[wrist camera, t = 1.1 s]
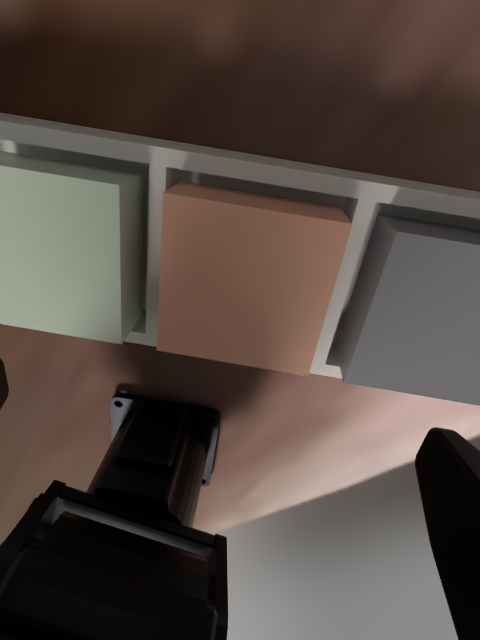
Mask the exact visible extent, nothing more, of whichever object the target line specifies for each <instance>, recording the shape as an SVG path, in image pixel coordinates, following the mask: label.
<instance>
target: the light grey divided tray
mask: <svg viewBox="0 0 480 640" xmlns="http://www.w3.org/2000/svg"><path fill="white" fill-rule="evenodd" d="M0 151H4V152H10V153H17V154H23V155H29V156H35V157H41V158H47V159H53V160H59V161H65V162H71V163H77V164H83V165H89V166H95V167H101V168H107V169H113V170H119V171H125V172H131V173H137V174H143V175H144V218H143V280H142V316H141V317H140V318H139V320H138V321H137V323H136V324H135V326H134V327H133V329H132V330H131V331H130V333H129V334H128V336H127V337H126V339H125V340H124V341H125V342H131V343H137V344H143V345H148V346H154V347H157V330H158V305H159V280H160V255H161V231H162V206H163V192H165V191H166V190H168V189H169V188H171V187H172V186H174V185H176V184H177V183H179V182H180V181H185V182H191V183H197V184H203V185H209V186H215V187H221V188H227V189H233V190H239V191H245V192H251V193H257V194H263V195H269V196H275V197H281V198H287V199H293V200H299V201H305V202H312V203H318V204H324V205H330V206H336V207H341V209H342V210H343V212H344V213H345V214H346V216H347V217H348V219H349V220H350V221H351V223H352V227H351V231H350V234H349V237H348V241H347V244H346V248H345V251H344V255H343V258H342V262H341V265H340V268H339V272H338V275H337V279H336V282H335V286H334V289H333V292H332V296H331V299H330V303H329V306H328V310H327V313H326V316H325V320H324V323H323V327H322V330H321V334H320V337H319V340H318V344H317V347H316V351H315V354H314V358H313V361H312V364H311V368H310V371H309V373H313V374H319V375H324V376H330V377H336V378H342V374H341V370H340V366H339V362H338V358H337V354H336V350H335V346H336V343H337V339H338V336H339V333H340V330H341V327H342V324H343V321H344V318H345V314H346V311H347V308H348V305H349V302H350V299H351V296H352V293H353V290H354V286H355V283H356V280H357V277H358V274H359V271H360V268H361V265H362V261H363V258H364V255H365V252H366V249H367V246H368V243H369V240H370V236H371V233H372V230H373V227H374V224H375V221H376V218H377V215H378V214H384V215H390V216H396V217H402V218H408V219H414V220H420V221H426V222H432V223H438V224H444V225H450V226H456V227H462V228H468V229H474V230H480V192H478V191H472V190H466V189H460V188H454V187H448V186H442V185H436V184H430V183H424V182H418V181H412V180H406V179H400V178H394V177H388V176H382V175H376V174H369V173H363V172H357V171H351V170H345V169H339V168H333V167H327V166H321V165H315V164H309V163H303V162H297V161H291V160H285V159H279V158H273V157H267V156H260V155H254V154H248V153H242V152H236V151H230V150H224V149H218V148H212V147H206V146H200V145H194V144H188V143H182V142H176V141H170V140H164V139H157V138H151V137H145V136H139V135H133V134H127V133H121V132H115V131H109V130H103V129H97V128H91V127H85V126H79V125H73V124H67V123H61V122H55V121H48V120H42V119H36V118H30V117H24V116H18V115H12V114H6V113H0ZM342 379H343V378H342Z"/></svg>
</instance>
